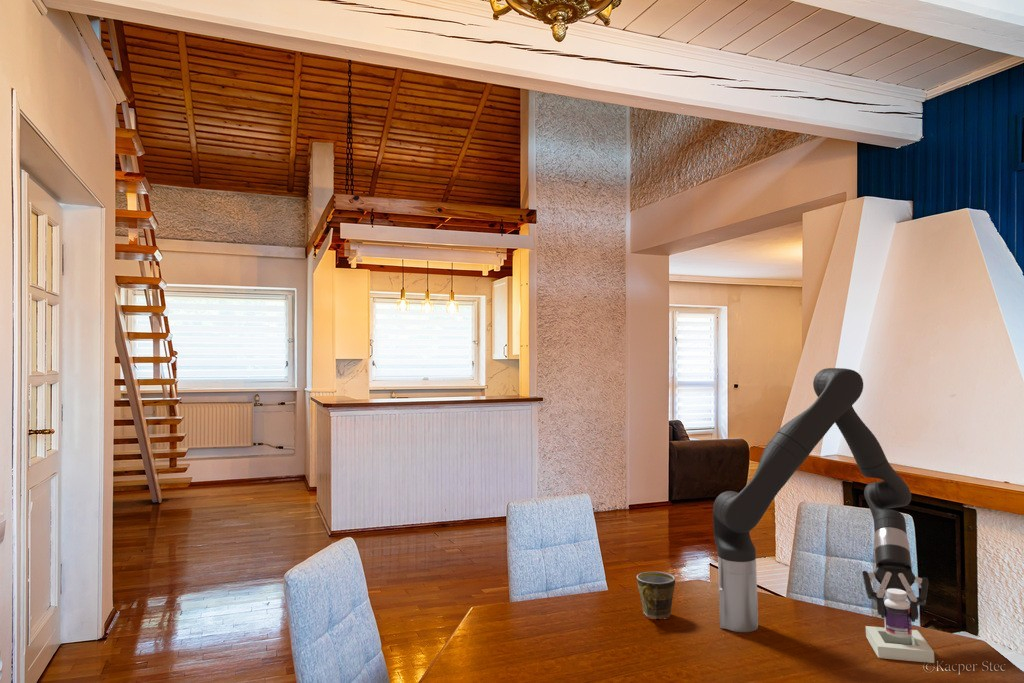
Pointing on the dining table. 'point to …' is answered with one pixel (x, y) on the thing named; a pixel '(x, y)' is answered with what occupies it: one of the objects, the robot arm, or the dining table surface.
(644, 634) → the dining table surface
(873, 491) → the robot arm
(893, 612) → the pill bottle
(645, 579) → the ceramic cup
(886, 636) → the socket board
